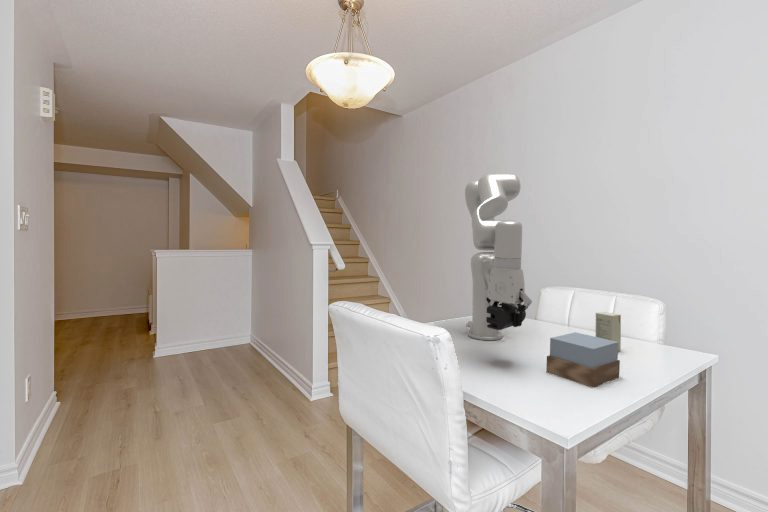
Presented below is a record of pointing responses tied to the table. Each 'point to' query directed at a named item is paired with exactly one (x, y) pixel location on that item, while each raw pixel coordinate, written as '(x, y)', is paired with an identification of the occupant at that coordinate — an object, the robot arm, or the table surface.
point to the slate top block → (584, 349)
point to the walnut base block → (583, 371)
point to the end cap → (501, 316)
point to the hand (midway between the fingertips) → (505, 322)
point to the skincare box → (609, 327)
